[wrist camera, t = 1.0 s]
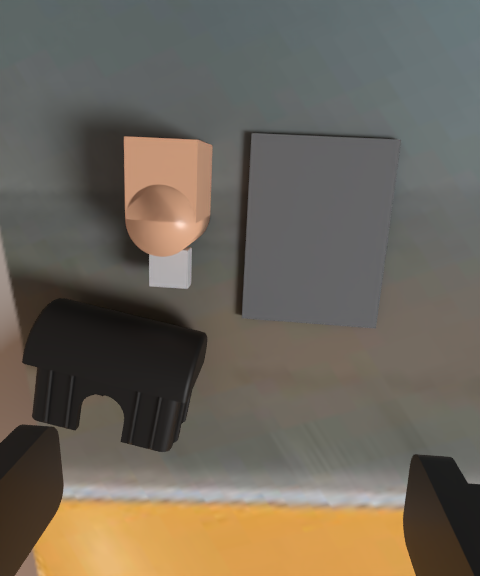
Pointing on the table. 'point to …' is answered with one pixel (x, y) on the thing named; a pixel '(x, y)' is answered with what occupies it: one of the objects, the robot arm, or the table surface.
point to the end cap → (114, 369)
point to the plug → (167, 203)
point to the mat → (318, 228)
